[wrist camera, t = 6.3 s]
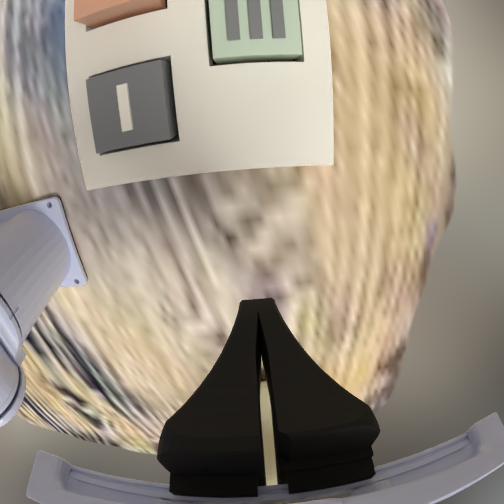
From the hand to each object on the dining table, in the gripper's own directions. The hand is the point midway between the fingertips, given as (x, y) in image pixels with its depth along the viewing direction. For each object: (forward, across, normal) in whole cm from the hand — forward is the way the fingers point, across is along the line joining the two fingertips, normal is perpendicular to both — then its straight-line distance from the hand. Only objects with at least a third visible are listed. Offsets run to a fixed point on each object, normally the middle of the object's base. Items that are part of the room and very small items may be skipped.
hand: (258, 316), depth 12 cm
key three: (+9, -1, -13) cm, 16 cm away
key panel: (+9, +2, -13) cm, 16 cm away
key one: (+9, +6, -9) cm, 14 cm away
